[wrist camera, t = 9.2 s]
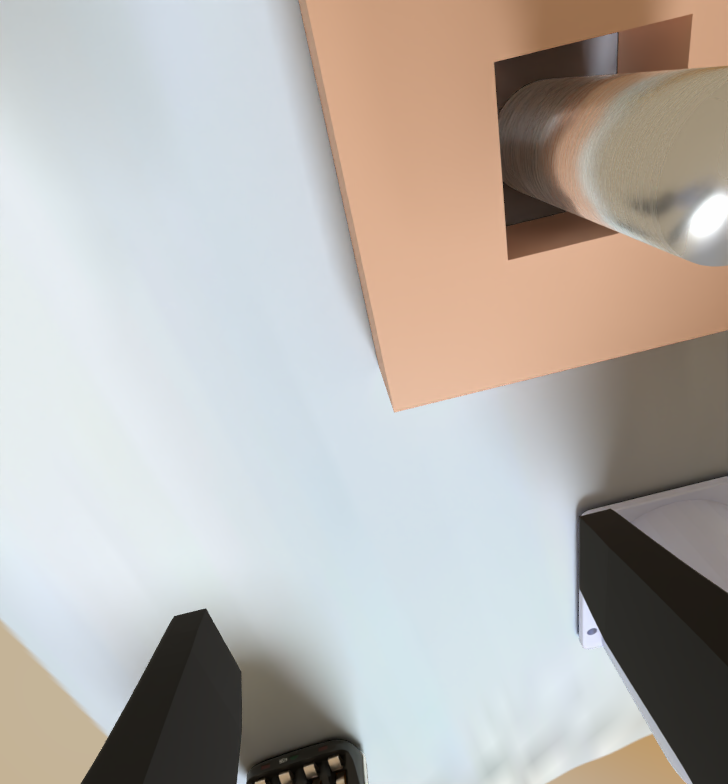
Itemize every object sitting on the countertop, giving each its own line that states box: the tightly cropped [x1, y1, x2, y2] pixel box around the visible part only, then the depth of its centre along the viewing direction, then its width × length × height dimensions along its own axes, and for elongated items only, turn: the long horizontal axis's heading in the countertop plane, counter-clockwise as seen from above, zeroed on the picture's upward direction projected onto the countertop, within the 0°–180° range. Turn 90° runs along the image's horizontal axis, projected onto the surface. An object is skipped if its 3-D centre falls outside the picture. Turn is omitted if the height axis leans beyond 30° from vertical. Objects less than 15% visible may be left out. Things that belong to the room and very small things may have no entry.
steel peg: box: [498, 66, 728, 267], centre depth 12 cm, size 3×3×8 cm
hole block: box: [298, 0, 728, 412], centre depth 14 cm, size 12×12×3 cm
